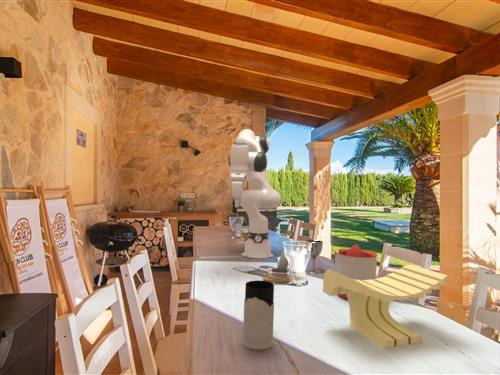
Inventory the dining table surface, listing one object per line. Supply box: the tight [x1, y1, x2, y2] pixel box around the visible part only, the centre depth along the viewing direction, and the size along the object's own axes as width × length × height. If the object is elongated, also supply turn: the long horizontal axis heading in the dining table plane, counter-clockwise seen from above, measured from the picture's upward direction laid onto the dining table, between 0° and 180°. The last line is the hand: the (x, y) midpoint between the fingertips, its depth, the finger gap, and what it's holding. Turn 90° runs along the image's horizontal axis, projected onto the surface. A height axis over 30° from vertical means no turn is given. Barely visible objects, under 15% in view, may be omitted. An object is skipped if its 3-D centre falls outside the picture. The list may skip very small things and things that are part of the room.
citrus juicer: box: [329, 244, 378, 300], centre depth 128 cm, size 16×17×20 cm
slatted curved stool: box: [322, 264, 449, 349], centre depth 96 cm, size 30×16×18 cm, turn 109°
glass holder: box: [240, 280, 275, 350], centre depth 90 cm, size 9×14×15 cm, turn 163°
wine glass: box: [305, 239, 324, 274], centre depth 164 cm, size 8×8×15 cm
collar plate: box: [262, 267, 290, 285], centre depth 147 cm, size 14×14×4 cm
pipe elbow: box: [276, 247, 289, 273], centre depth 149 cm, size 8×5×15 cm, turn 114°
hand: (237, 206), depth 155 cm, fingers open, 8 cm apart
